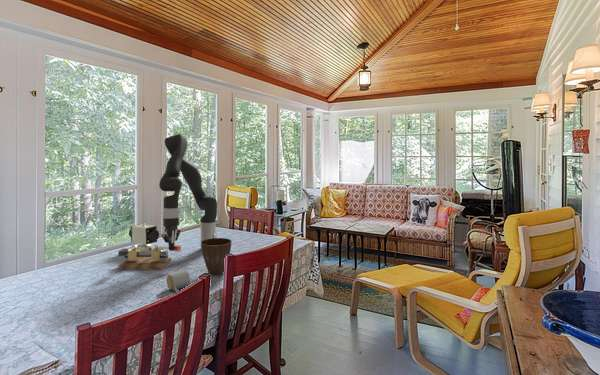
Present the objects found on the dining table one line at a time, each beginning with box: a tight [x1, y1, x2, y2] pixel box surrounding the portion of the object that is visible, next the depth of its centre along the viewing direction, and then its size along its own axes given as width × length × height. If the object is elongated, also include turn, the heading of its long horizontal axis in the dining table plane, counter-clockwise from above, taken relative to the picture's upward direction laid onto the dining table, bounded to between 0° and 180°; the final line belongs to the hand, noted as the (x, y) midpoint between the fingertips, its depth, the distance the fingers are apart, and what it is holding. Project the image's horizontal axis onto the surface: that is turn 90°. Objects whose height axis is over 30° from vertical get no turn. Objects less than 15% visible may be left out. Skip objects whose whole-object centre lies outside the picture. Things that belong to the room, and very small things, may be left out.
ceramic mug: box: [166, 269, 191, 293], centre depth 147 cm, size 11×8×8 cm
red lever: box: [154, 244, 182, 253], centre depth 178 cm, size 2×15×2 cm, turn 72°
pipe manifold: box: [122, 247, 169, 263], centre depth 180 cm, size 22×5×7 cm, turn 92°
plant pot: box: [200, 237, 232, 276], centre depth 169 cm, size 15×15×16 cm
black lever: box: [117, 244, 138, 257], centre depth 173 cm, size 2×15×2 cm, turn 1°
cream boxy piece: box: [128, 222, 160, 250], centre depth 204 cm, size 18×8×18 cm, turn 65°
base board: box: [118, 257, 173, 270], centre depth 180 cm, size 22×14×2 cm, turn 92°
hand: (171, 250), depth 173 cm, fingers closed
